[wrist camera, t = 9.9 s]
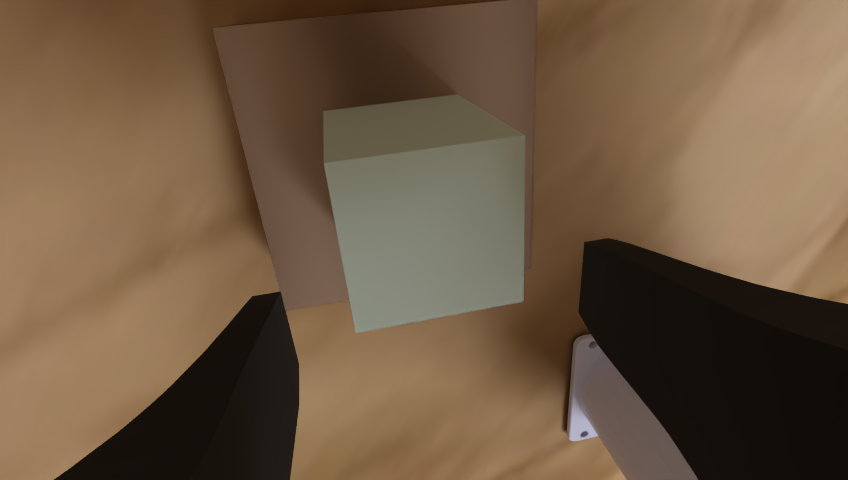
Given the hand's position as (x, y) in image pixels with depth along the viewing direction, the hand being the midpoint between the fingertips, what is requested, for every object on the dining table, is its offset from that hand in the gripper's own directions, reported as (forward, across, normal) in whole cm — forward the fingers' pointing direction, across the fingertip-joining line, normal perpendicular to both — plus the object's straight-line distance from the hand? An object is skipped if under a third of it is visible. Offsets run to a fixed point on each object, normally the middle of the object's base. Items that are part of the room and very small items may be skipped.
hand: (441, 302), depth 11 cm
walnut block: (+10, 0, -1) cm, 10 cm away
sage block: (+7, 0, -1) cm, 7 cm away
